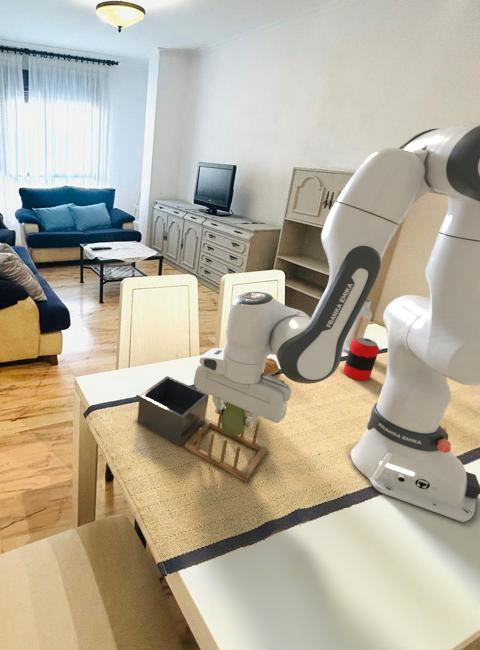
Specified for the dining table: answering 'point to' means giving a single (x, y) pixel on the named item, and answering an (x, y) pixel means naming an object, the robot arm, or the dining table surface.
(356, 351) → the soda can
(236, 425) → the pear
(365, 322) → the plastic bottle
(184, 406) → the dark grey open box
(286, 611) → the dining table surface
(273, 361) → the pastry
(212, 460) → the drying rack
